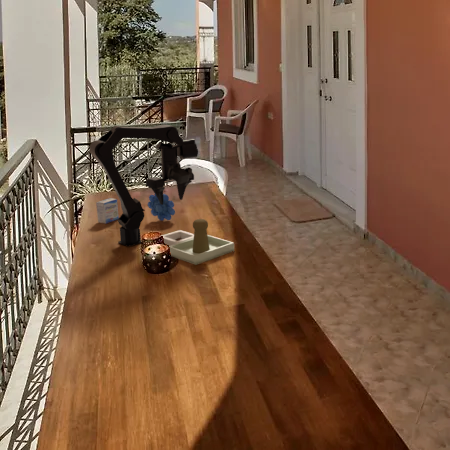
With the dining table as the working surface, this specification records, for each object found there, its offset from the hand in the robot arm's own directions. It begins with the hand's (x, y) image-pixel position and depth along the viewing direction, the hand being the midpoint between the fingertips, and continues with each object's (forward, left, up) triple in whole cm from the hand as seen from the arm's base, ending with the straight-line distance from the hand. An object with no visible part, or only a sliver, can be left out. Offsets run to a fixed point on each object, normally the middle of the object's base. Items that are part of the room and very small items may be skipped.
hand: (171, 202), depth 212 cm
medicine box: (-5, +35, -13) cm, 38 cm away
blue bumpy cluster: (+9, +18, -13) cm, 24 cm away
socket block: (-4, -8, -13) cm, 16 cm away
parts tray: (-6, -22, -13) cm, 26 cm away
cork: (-6, -22, -12) cm, 26 cm away
